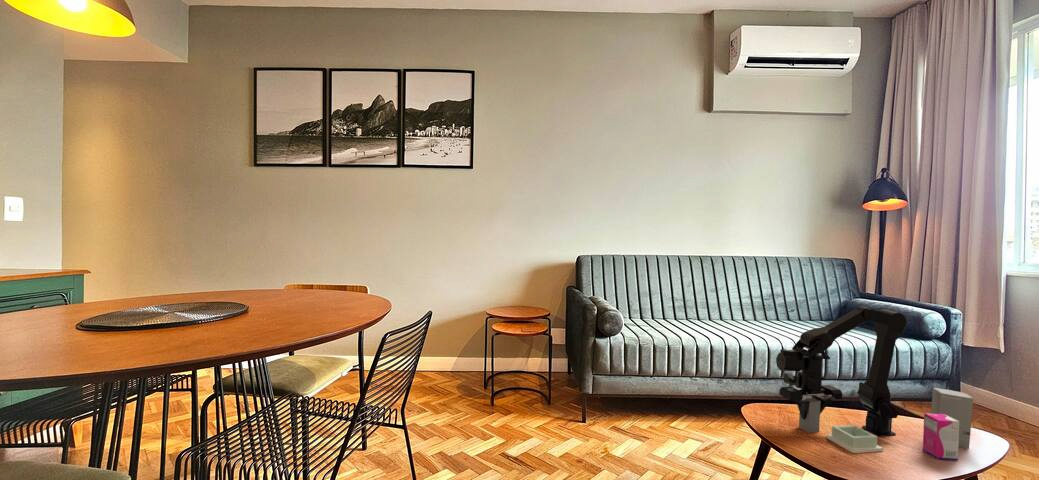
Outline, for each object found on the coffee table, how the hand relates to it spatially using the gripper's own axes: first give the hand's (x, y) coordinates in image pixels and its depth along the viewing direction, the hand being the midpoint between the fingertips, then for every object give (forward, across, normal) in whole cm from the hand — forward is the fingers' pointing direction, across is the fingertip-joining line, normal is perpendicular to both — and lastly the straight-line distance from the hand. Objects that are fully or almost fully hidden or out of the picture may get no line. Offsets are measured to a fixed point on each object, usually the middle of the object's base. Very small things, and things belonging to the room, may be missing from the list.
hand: (809, 418), depth 155 cm
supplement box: (+4, -26, +20) cm, 33 cm away
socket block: (+4, -6, +11) cm, 13 cm away
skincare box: (+4, -38, +13) cm, 40 cm away
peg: (+4, 0, 0) cm, 4 cm away
